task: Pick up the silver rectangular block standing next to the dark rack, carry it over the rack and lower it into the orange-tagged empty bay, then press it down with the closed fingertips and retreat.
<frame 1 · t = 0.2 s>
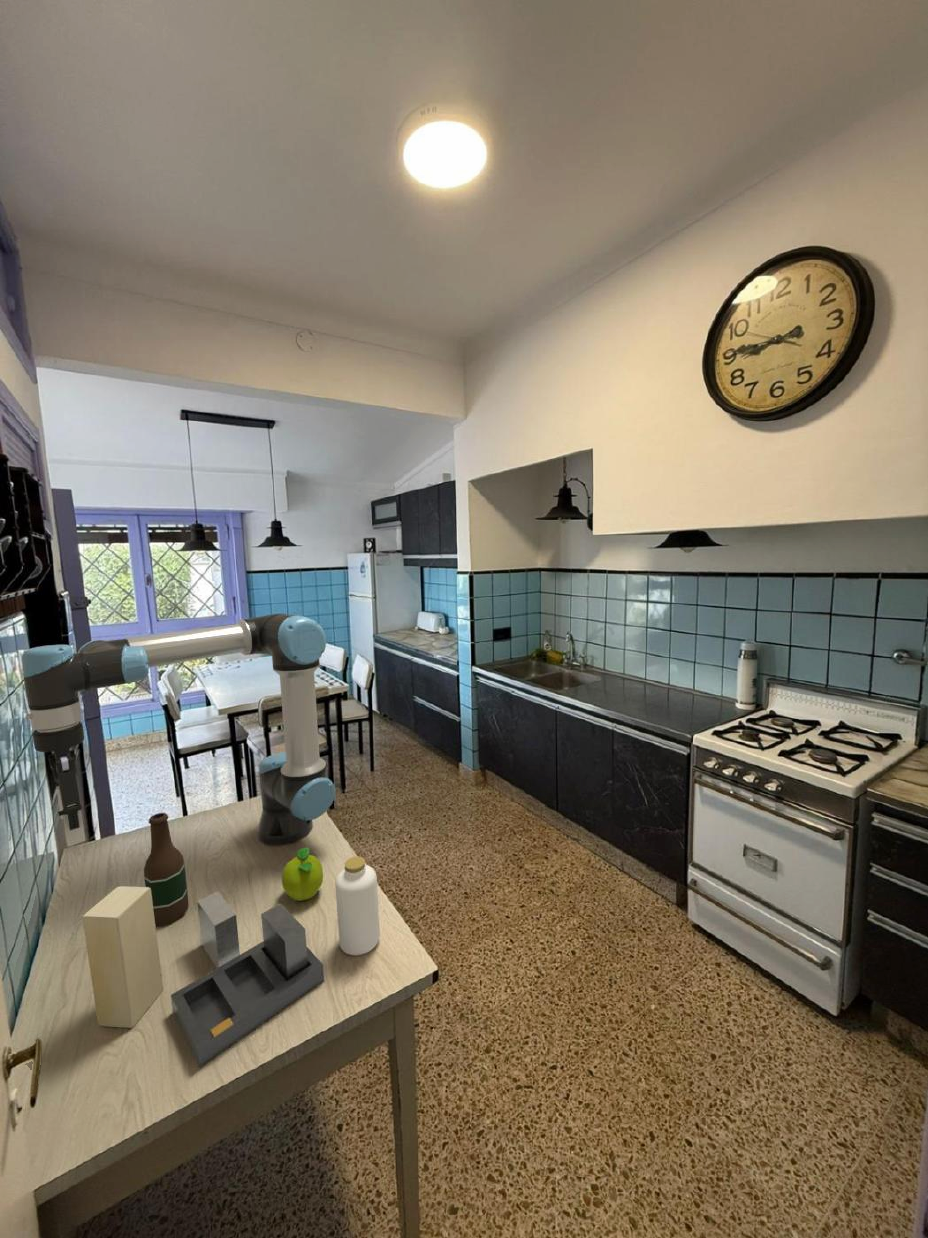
hand: (72, 829, 98), 28 cm above the table, fingers open, 13 cm apart
fruit: (304, 896, 118), on the table
potion bottle: (360, 943, 103), on the table
cream tall block: (130, 1008, 90), on the table
rack: (250, 996, 91), on the table
beer bottle: (170, 915, 113), on the table
silver rectangular block: (220, 952, 102), on the table
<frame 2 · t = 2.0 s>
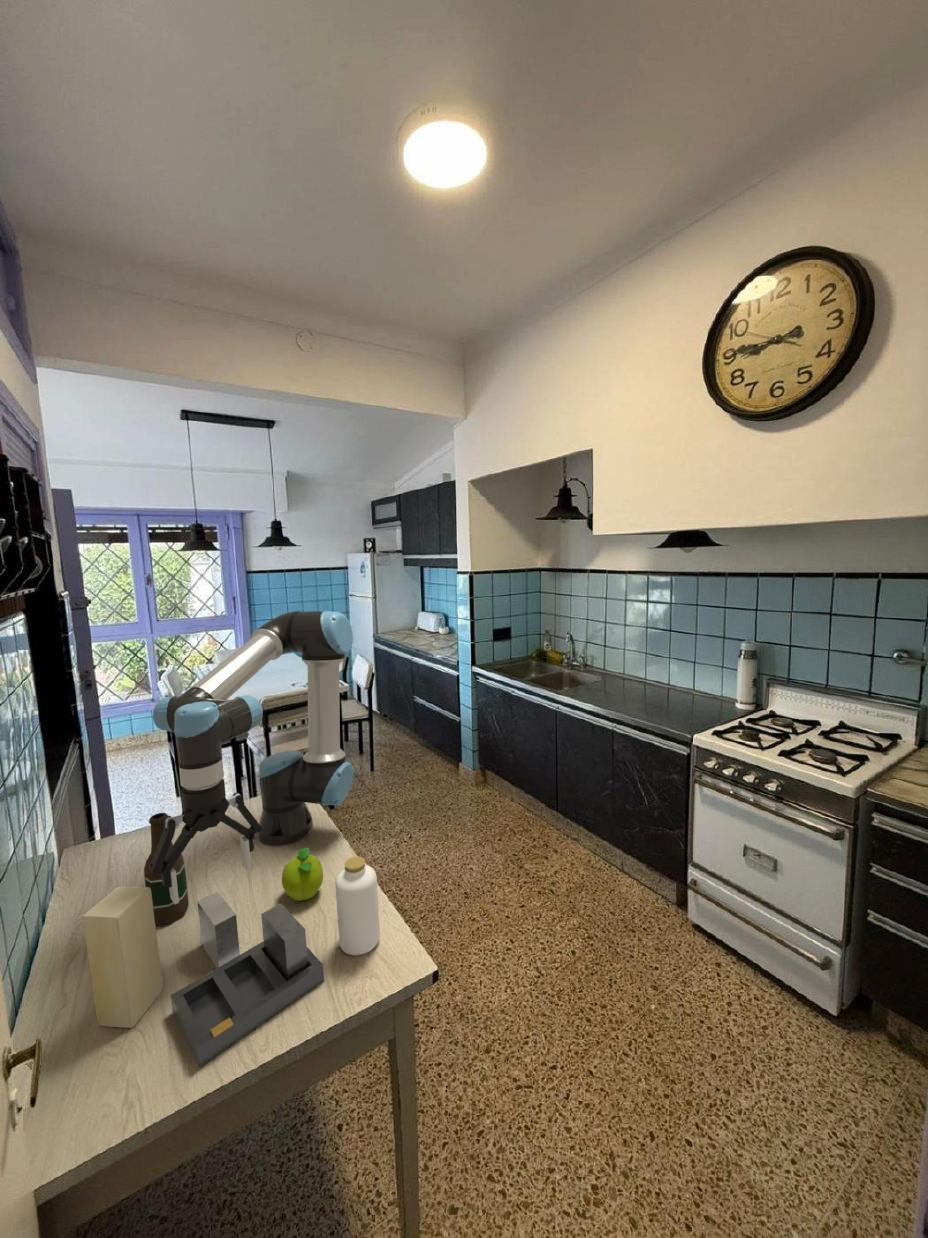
hand: (212, 883, 99), 16 cm above the table, fingers open, 13 cm apart
nothing on the table moved.
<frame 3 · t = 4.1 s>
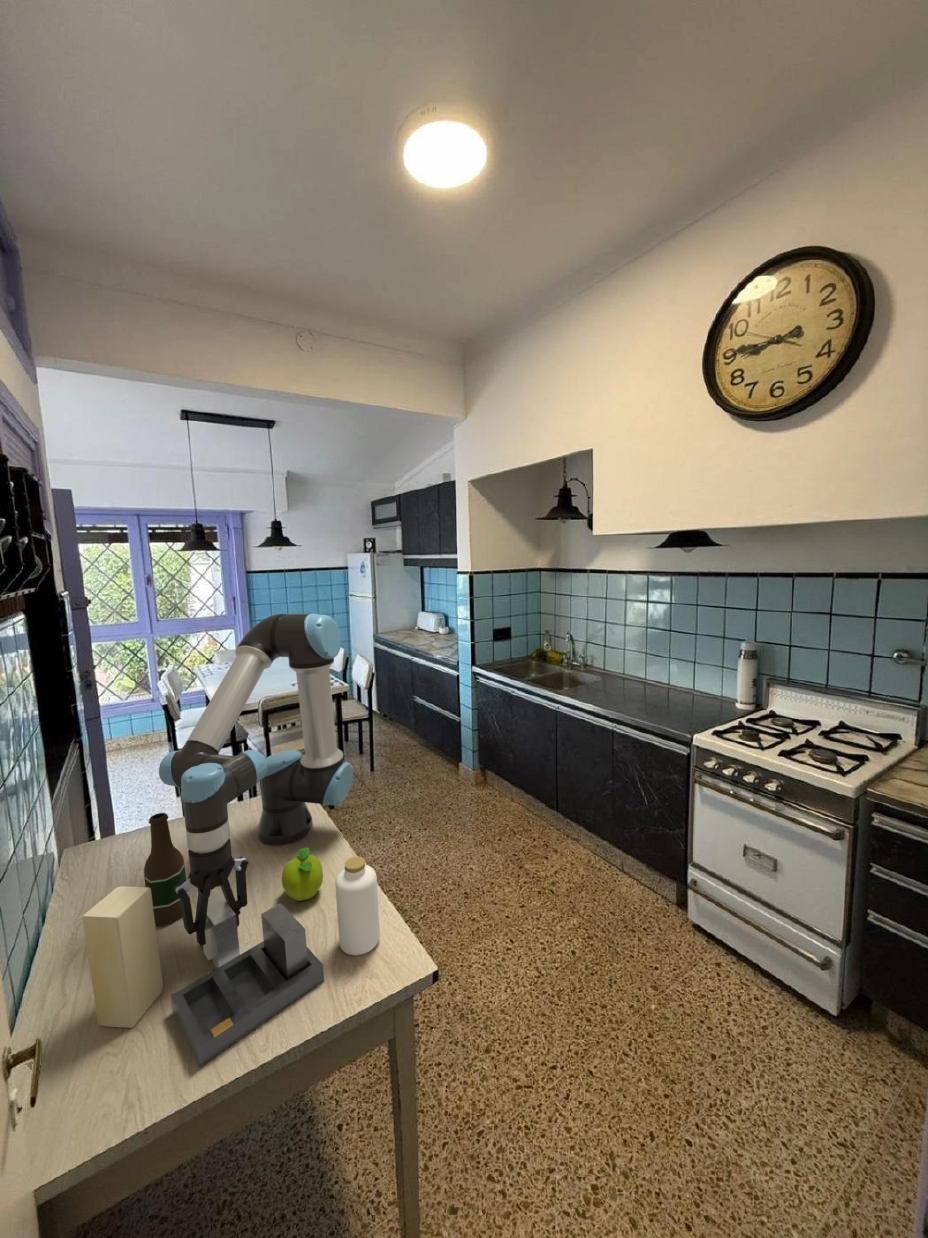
hand: (220, 949, 102), 1 cm above the table, fingers closed on silver rectangular block, 4 cm apart
silver rectangular block: (220, 952, 102), on the table, touching gripper
everything else where it was.
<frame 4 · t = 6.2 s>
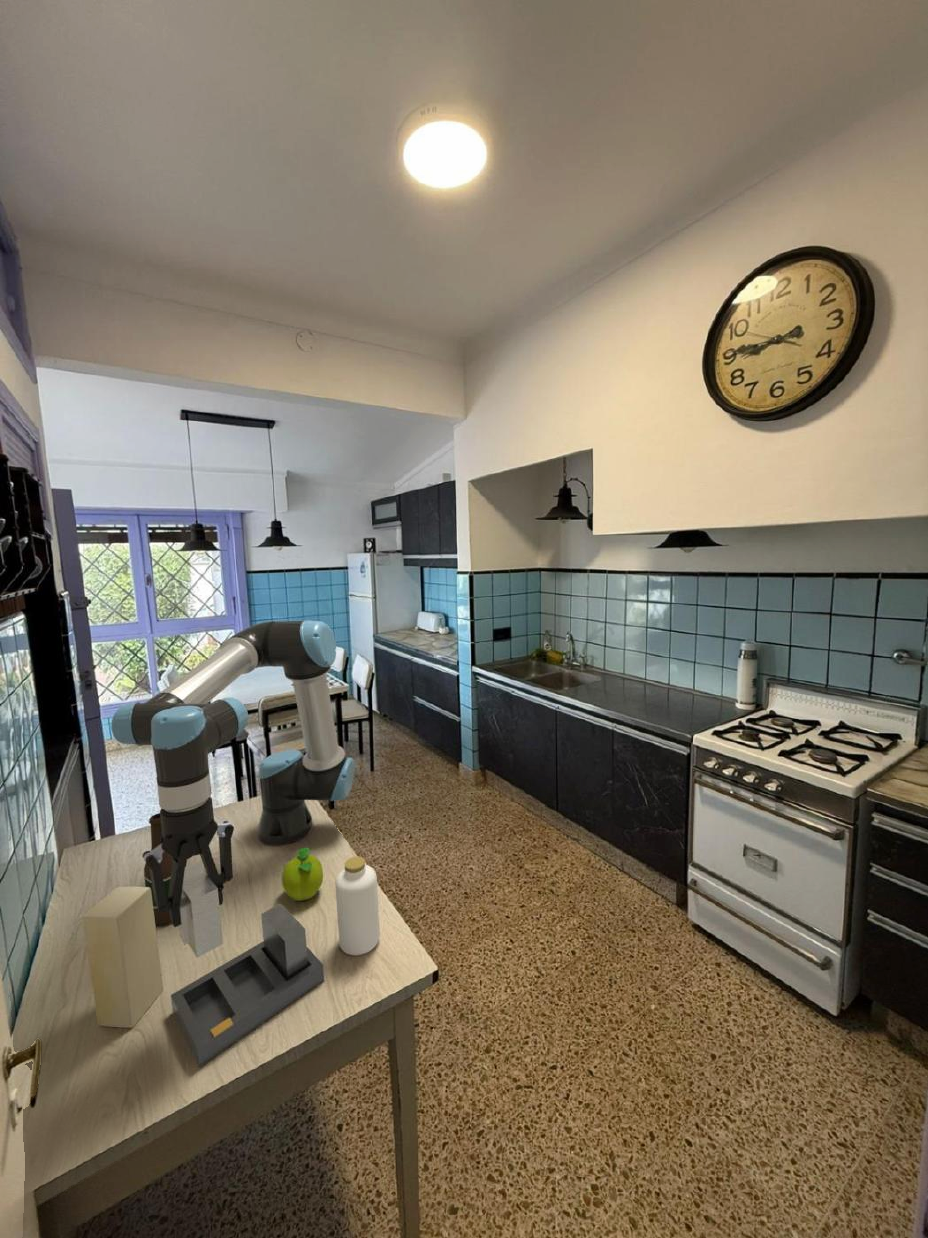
hand: (199, 931, 84), 17 cm above the table, fingers closed on silver rectangular block, 4 cm apart
silver rectangular block: (200, 935, 85), point 16 cm above the table, touching gripper
everything else where it was.
when the fingers open (5 cm above the table, at t = 8.8 s): silver rectangular block drops 3 cm, resting on rack.
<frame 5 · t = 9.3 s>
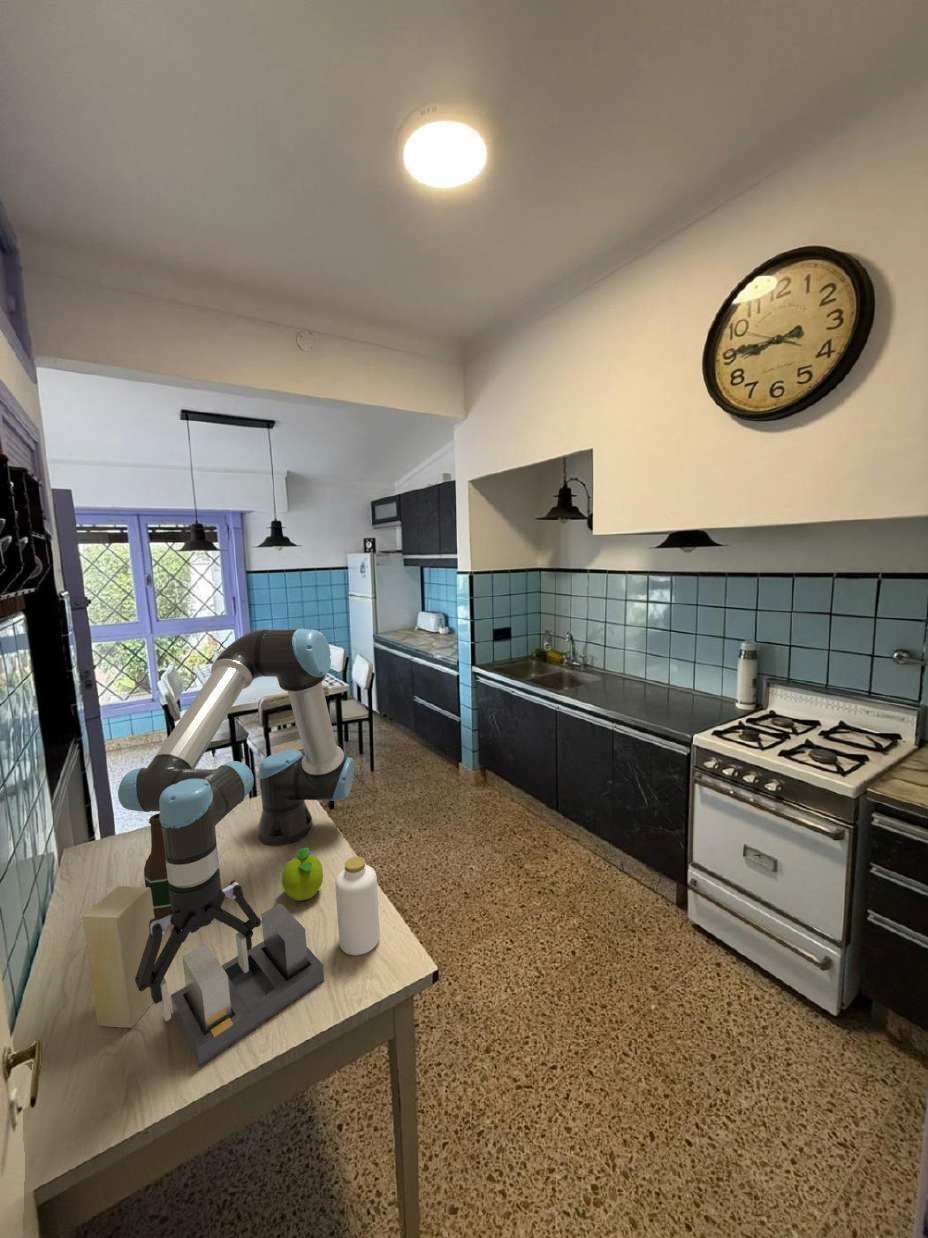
hand: (206, 990, 85), 6 cm above the table, fingers open, 12 cm apart
silver rectangular block: (210, 1017, 86), point 1 cm above the table, touching rack
everything else where it was.
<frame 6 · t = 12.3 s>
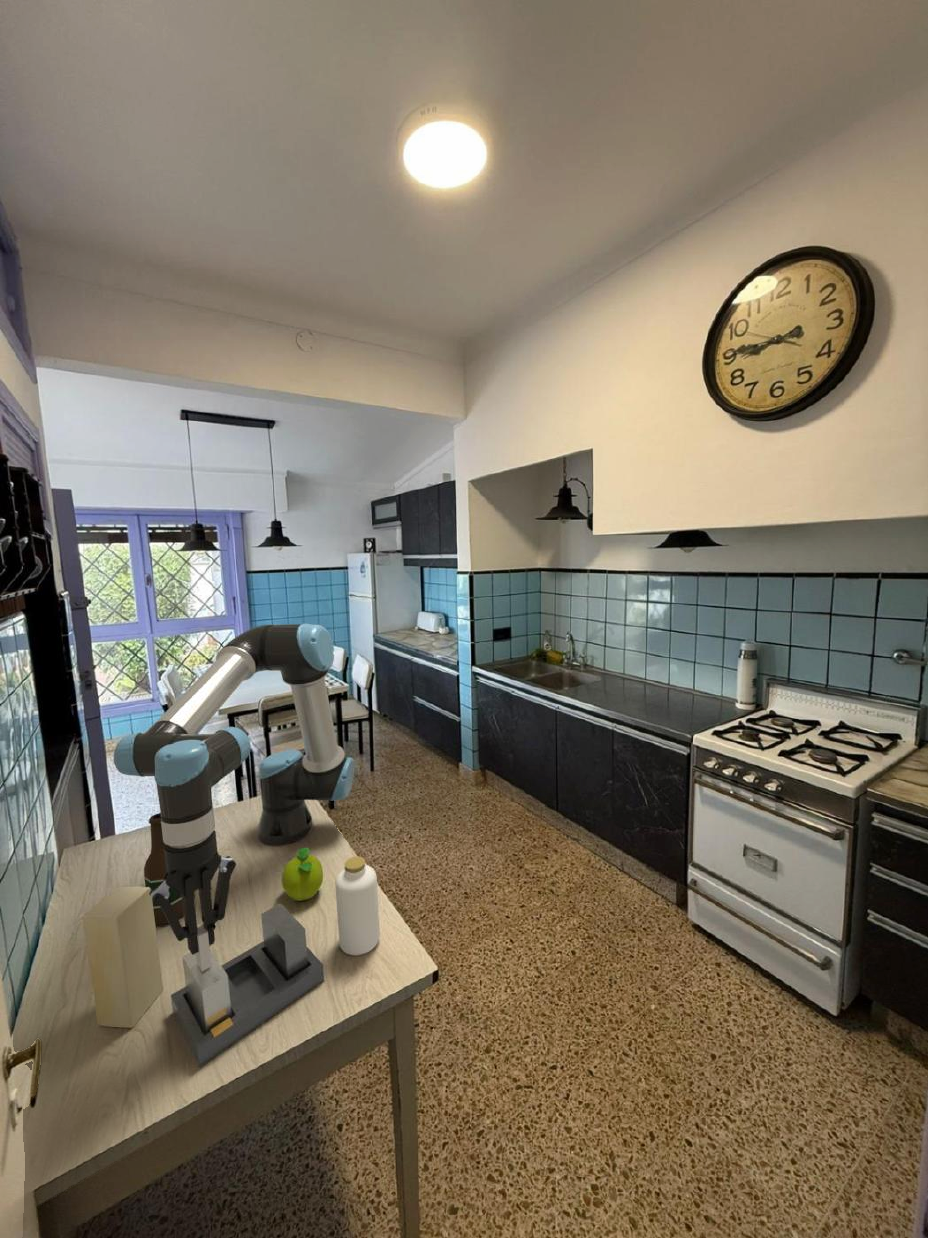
hand: (204, 964, 85), 11 cm above the table, fingers closed
silver rectangular block: (210, 1017, 86), point 1 cm above the table, touching gripper, rack
everything else where it was.
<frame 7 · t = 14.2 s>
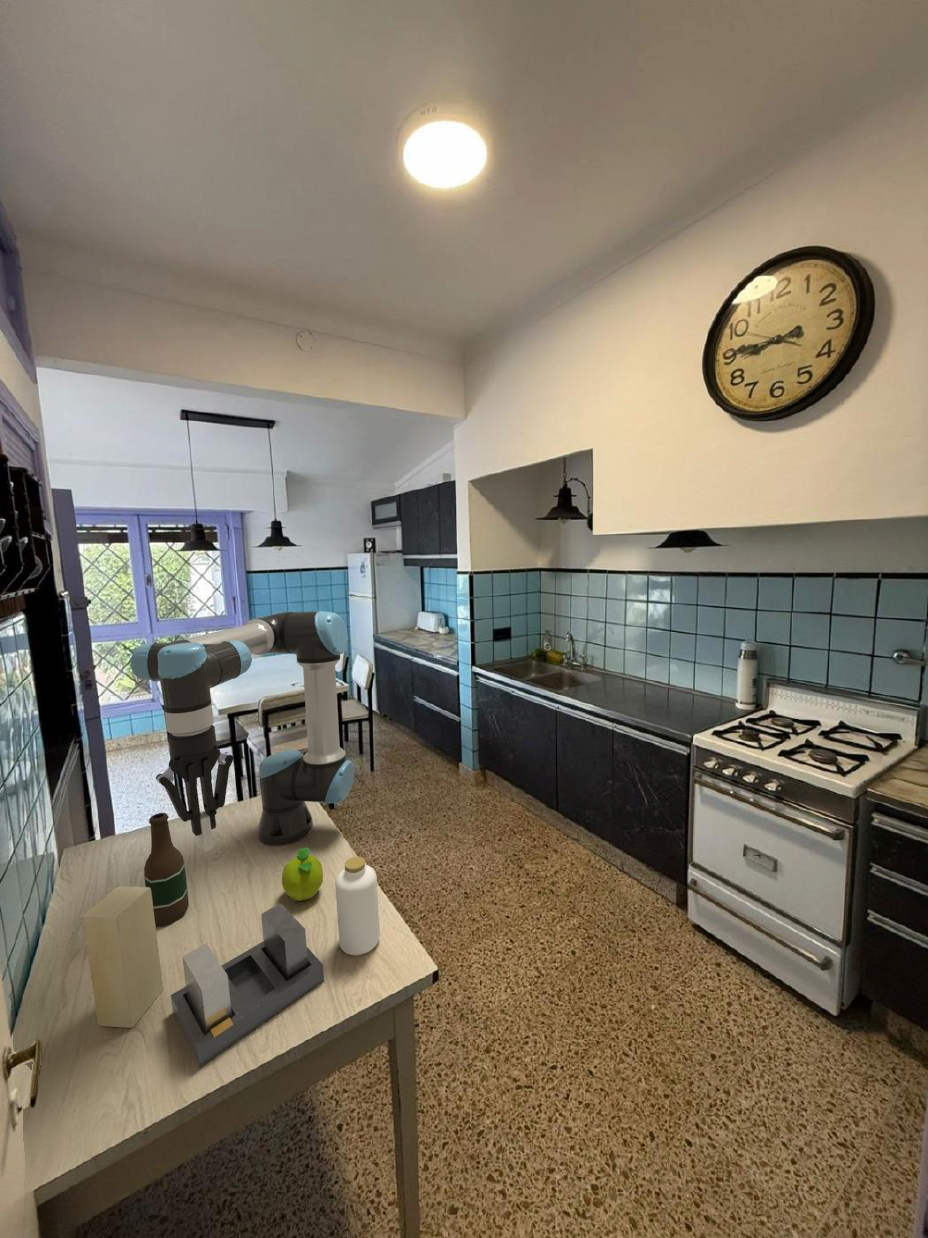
hand: (206, 847, 94), 26 cm above the table, fingers closed
silver rectangular block: (210, 1017, 86), point 1 cm above the table, touching rack
everything else where it was.
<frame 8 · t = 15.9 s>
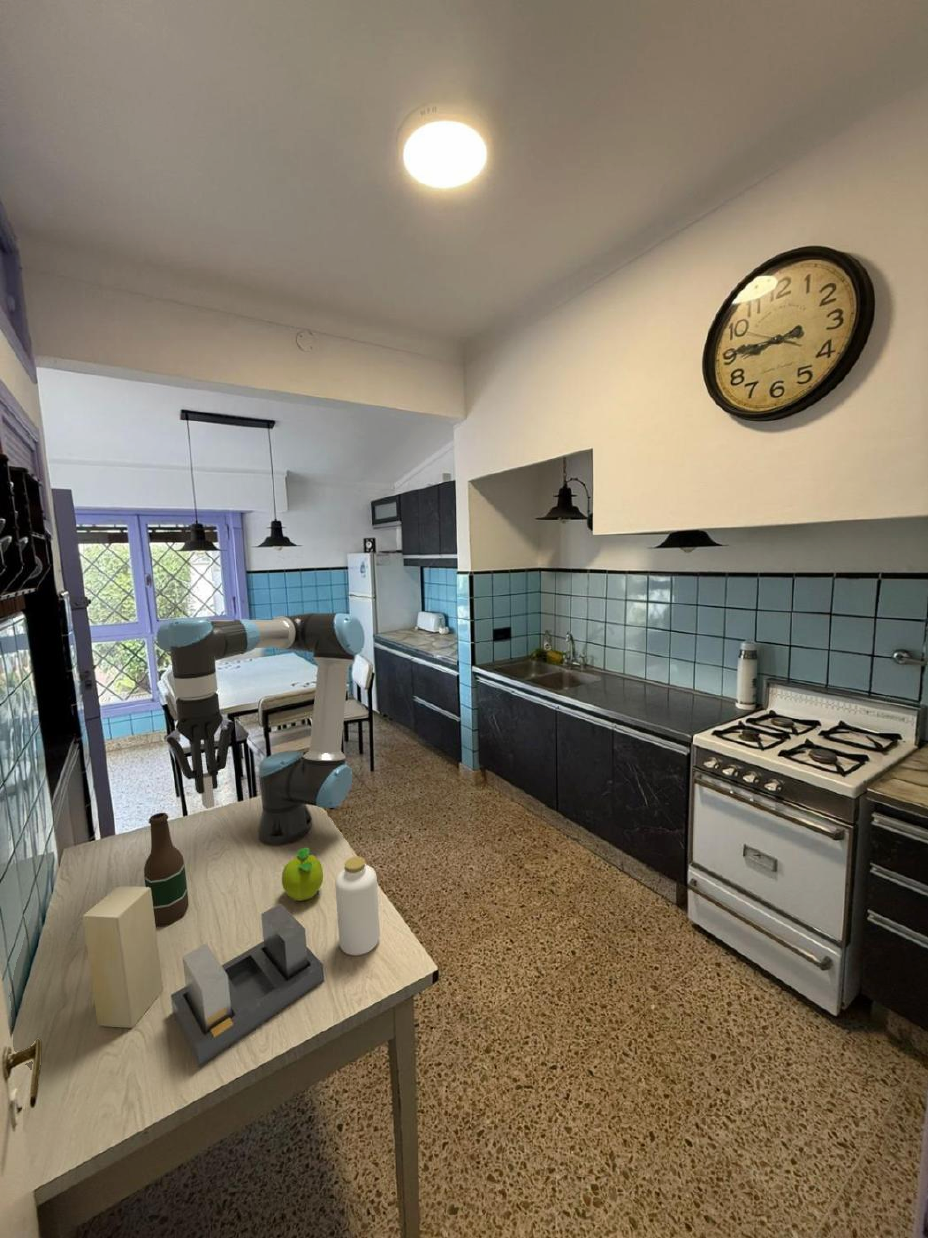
hand: (208, 805, 103), 29 cm above the table, fingers closed
nothing on the table moved.
at the end: silver rectangular block 0.0 cm from the target spot on the rack, point 1.0 cm above the rack's base; silver rectangular block tilted 0°; the gripper is holding nothing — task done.
